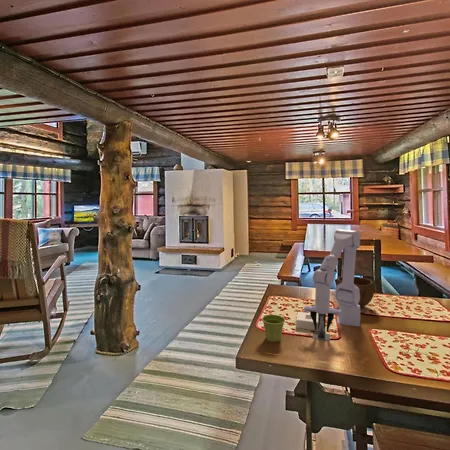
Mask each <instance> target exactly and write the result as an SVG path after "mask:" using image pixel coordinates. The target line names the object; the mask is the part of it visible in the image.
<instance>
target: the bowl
mask: <svg viewBox="0 0 450 450" xmlns="http://www.w3.org/2000/svg"><path fill="white" fill-rule="evenodd" d="M342 278H343V275H342V276H338V277H337V278H336V287H335V290H336V289H337V285H339V284H340V283H342ZM354 284H355V285H356V286H357V287H358V288H359V290H360V291H359V292H360V301H359V303H358V304H357V305H360V308H364V307H365V306H368V305H369V304H370V303H371V301H372V300H373V298H374V295H375V292H374V285H375V283H374V281H373V280H372V279H369V278H366V277H361V276H360V277H359V276H354Z"/></svg>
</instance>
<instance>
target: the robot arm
mask: <svg viewBox="0 0 450 450" xmlns="http://www.w3.org/2000/svg"><path fill="white" fill-rule="evenodd" d="M333 241H334V242H333V245H332V247H331V250H330V253H329V255H326V256H325V257H324V259H323V261H322V263H321V264H320V266H319V269H316V270H315V271H314V272H313V276H312V281H313V283H314V284H313V286H314V288H315V299H314V300H315V303H314V305H309V306H308V305H304V307H303V312H304V313H310V315H311V318H312V320H313V323H314V327H315V330H314V331H317V321H316V319H317V314H318V313H321V314H326V317H327V318H326V320H327V321H326V332H329V331H330V326H331V324H332V322H333V321H334V319H335V315H336V316H337V317H336V319H337V324H339V325H344V326H345V325H346V326H354V327H361V325H360V324H361V307H360V305H357V304H358V303H359V301H360V292H359V291H360V290H359V288H358V287H357V286H356V285H355V284H354V277H355V273H356V272H355V269H356V259H357V256H356V255H357V249H360V246H361V234H360V232H359V230H349V229H340V228H337V229H336V230H335V232H334V234H333ZM343 250H344V255H343V267H342V268H343V270H342V276H343V278H342V283H340V284H339V285H337V284H336V287H337V289H336V288H335V293H334V298H335V301H337V303H338V309H337V308H333V307H330V303H331V302H330V301H331V299H330V298H331V284H332V283H333V282H334V276H335V273H334V272H335V270H336V268H337V266H338V264H339V260H338V258H339V257H340V255H341V254H342V252H343Z"/></svg>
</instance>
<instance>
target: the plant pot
mask: <svg viewBox="0 0 450 450" xmlns="http://www.w3.org/2000/svg"><path fill="white" fill-rule="evenodd" d="M261 320H262V322H263V325H264V326H263V327H264V333H265V339H266V341H268V342H271V343H275V342H276V343H277V342H280V341H281V340H282V334H283V327H284V325H285V322H286V318H285V317H283V316H282V315H279V314H266V315H264V316H262V318H261Z"/></svg>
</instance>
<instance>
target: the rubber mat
mask: <svg viewBox="0 0 450 450" xmlns="http://www.w3.org/2000/svg"><path fill="white" fill-rule="evenodd" d="M312 340H316V341H323V342H331V334H330V333H326V332H325V338H319V337H318V331H312Z"/></svg>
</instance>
